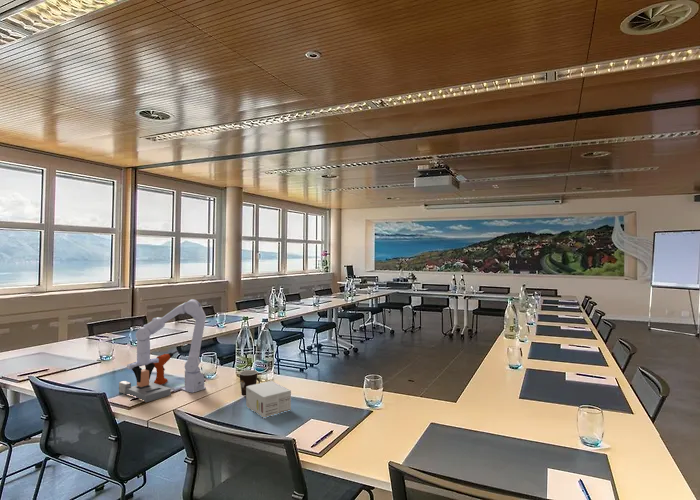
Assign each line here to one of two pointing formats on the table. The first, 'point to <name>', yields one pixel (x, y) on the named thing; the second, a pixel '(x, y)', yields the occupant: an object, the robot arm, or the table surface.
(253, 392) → the supplement box
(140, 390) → the socket board
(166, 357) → the toy drill
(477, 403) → the table surface
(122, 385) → the light gray block
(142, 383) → the square peg
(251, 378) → the coffee mug
